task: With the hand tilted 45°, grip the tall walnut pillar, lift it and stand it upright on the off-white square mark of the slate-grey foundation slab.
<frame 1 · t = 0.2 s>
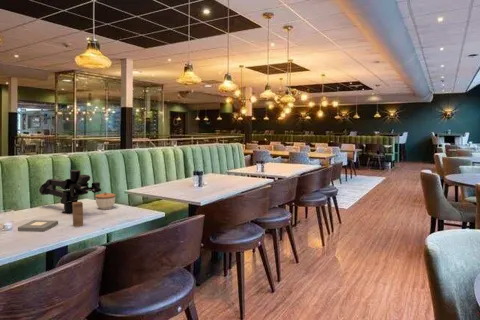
hand: (94, 191, 211), 17 cm above the table, tool horizontal, fingers open, 9 cm apart
lidded bowl: (105, 208, 238), on the table
foundation slab: (38, 227, 192), on the table
walnut pillar: (78, 225, 198), on the table
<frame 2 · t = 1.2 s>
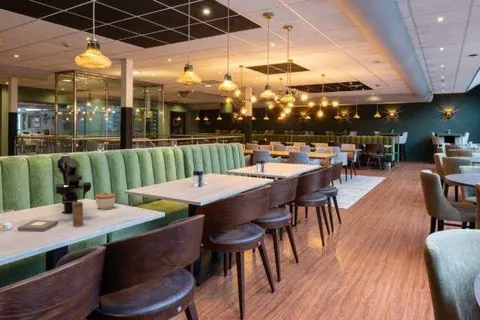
hand: (75, 199, 203), 13 cm above the table, tool tilted 45°, fingers open, 9 cm apart
nothing on the table moved.
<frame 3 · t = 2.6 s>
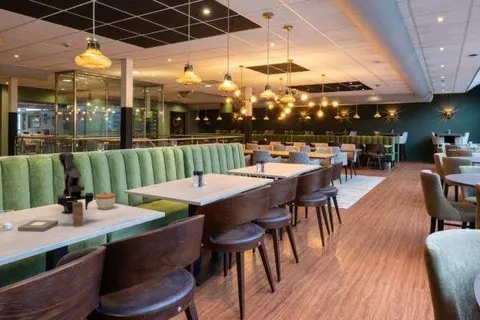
hand: (77, 210, 197), 8 cm above the table, tool tilted 45°, fingers open, 9 cm apart
nothing on the table moved.
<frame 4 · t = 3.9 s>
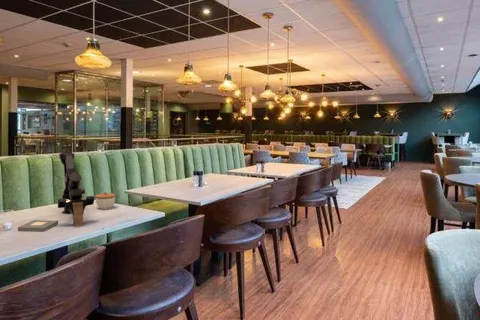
hand: (78, 214, 196), 7 cm above the table, tool tilted 45°, fingers closed on walnut pillar, 5 cm apart
walnut pillar: (78, 225, 198), on the table, touching gripper
everything else where it was.
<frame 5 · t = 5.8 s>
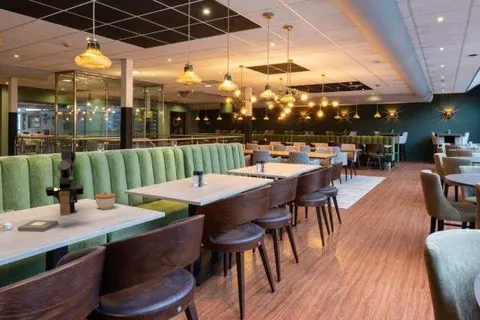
hand: (64, 203, 192), 13 cm above the table, tool tilted 45°, fingers closed on walnut pillar, 5 cm apart
walnut pillar: (65, 214, 194), point 7 cm above the table, touching gripper
everything else where it was.
when the fingers open (10 cm above the table, at t = 7.9 s): walnut pillar drops 1 cm, resting on foundation slab.
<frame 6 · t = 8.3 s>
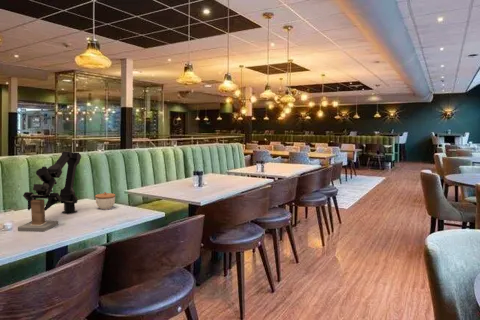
hand: (36, 210, 190), 10 cm above the table, tool tilted 45°, fingers open, 9 cm apart
walnut pillar: (38, 223, 192), point 2 cm above the table, touching foundation slab
everything else where it was.
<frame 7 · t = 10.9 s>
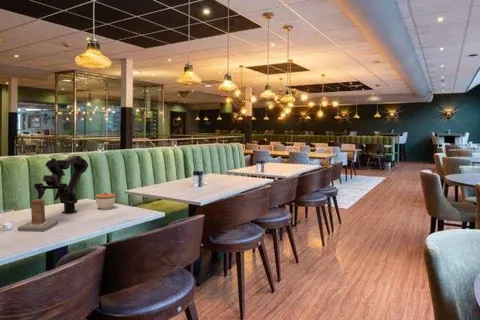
hand: (46, 200, 199), 14 cm above the table, tool tilted 45°, fingers open, 9 cm apart
nothing on the table moved.
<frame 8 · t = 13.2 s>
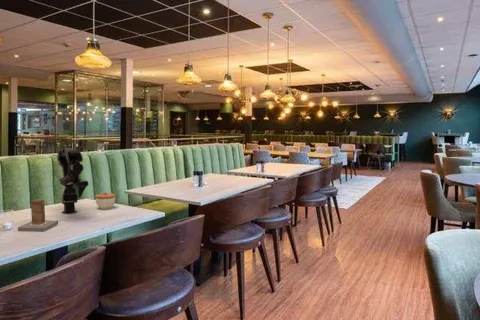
hand: (74, 196, 212), 13 cm above the table, tool pointing down, fingers open, 9 cm apart
nothing on the table moved.
at the end: walnut pillar 0.0 cm off-centre on the foundation slab, point 2.2 cm above the foundation slab's base; walnut pillar tilted 0°; the gripper is holding nothing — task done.
